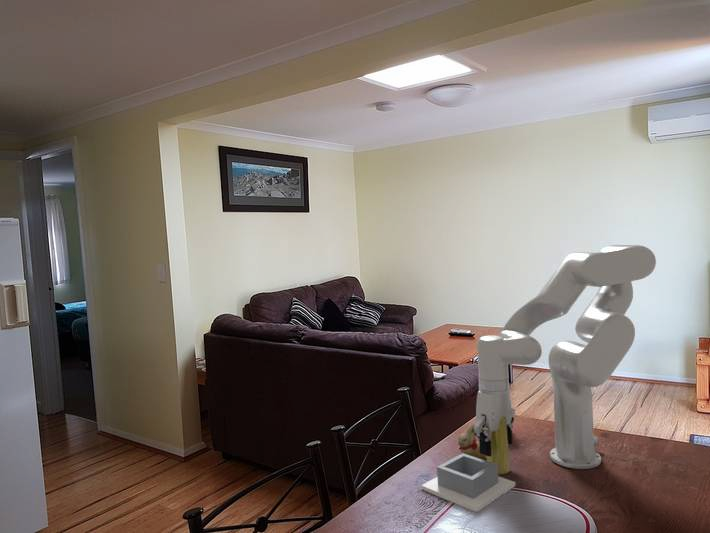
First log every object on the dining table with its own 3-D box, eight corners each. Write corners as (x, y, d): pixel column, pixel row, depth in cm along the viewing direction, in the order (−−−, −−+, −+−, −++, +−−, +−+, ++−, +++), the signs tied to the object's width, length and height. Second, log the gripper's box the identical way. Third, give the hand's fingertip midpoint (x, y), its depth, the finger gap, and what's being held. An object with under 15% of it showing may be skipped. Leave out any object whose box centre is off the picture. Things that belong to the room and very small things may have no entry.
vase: (511, 475, 132) (508, 420, 131) (486, 474, 133) (483, 419, 132) (509, 464, 138) (506, 411, 137) (485, 464, 139) (482, 411, 138)
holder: (461, 467, 138) (460, 446, 138) (515, 486, 126) (514, 463, 126) (421, 489, 127) (420, 467, 127) (476, 512, 116) (475, 488, 115)
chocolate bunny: (458, 453, 147) (457, 418, 146) (487, 453, 146) (485, 418, 145) (459, 461, 141) (457, 425, 141) (489, 462, 140) (487, 425, 140)
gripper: (499, 374, 143) (502, 435, 144) (461, 389, 131) (464, 455, 132) (524, 379, 137) (526, 442, 138) (487, 394, 126) (489, 464, 127)
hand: (496, 449), depth 135 cm, fingers open, 9 cm apart
